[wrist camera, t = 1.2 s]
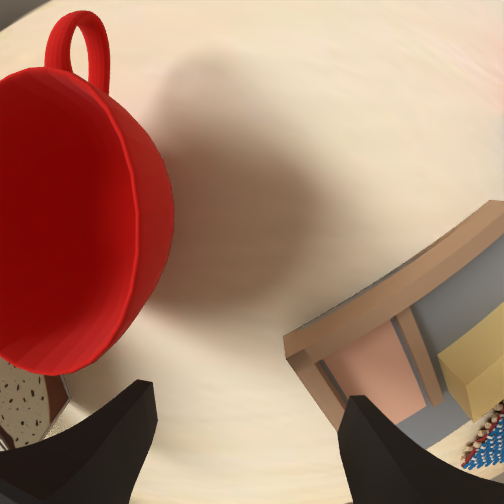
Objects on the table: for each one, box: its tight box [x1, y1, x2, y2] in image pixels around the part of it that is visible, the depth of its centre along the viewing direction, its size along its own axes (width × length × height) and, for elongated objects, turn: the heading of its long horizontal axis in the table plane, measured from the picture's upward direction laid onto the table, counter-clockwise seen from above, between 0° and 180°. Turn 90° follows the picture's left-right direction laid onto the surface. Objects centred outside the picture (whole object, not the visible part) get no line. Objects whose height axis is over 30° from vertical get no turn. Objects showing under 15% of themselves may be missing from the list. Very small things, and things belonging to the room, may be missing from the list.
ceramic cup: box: [0, 10, 174, 376], centre depth 14 cm, size 13×17×10 cm
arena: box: [283, 200, 504, 450], centre depth 19 cm, size 18×18×3 cm
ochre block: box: [437, 302, 504, 423], centre depth 17 cm, size 4×9×4 cm, turn 122°
